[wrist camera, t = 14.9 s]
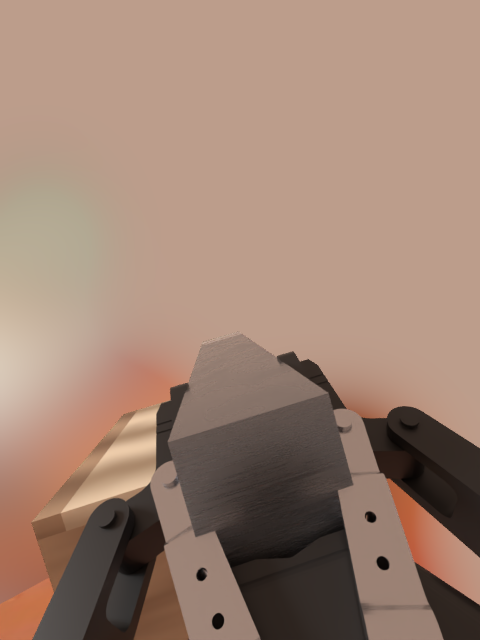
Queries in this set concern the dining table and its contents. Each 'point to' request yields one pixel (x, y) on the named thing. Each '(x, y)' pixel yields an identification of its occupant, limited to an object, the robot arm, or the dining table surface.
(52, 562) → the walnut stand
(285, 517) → the dark gray rectangular block
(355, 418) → the robot arm
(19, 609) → the dining table surface
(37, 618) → the dining table surface
